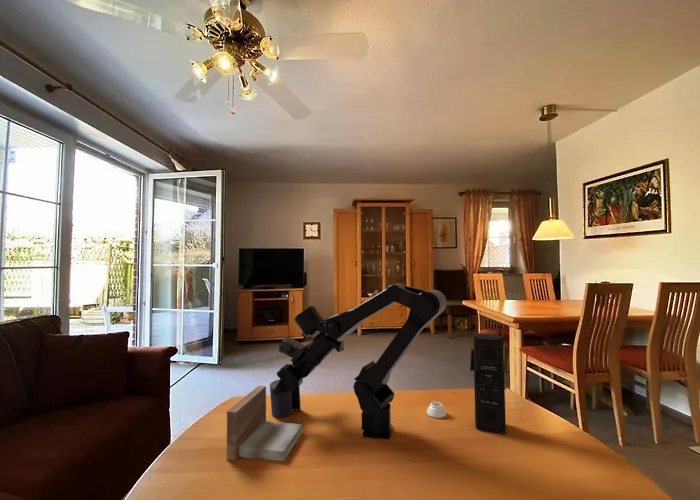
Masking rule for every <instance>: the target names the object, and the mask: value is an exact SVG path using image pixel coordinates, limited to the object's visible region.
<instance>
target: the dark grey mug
mask: <svg viewBox="0 0 700 500" xmlns="http://www.w3.org/2000/svg"><path fill="white" fill-rule="evenodd" d="M279 381H280V378H279V379H276V380H272V382H270V384H269V392H270V406H271V409H270V410H271V415H272V417H275V418H277V419H280V418H281V419H282V418H285V417H289V416H290V415H291V414H292V413H293V411H294V410H295V411H301V410H302V409H301V408H302V407H301V394H300V393H301V392H300V386H299V387H298V388H297V389H296V390H295V391H294V392H292V391H287V392H284V393H281V394H278V395H274V394H273V393H272V392H273V391H274V389H275V387H276V386H277V384H278V382H279Z"/></svg>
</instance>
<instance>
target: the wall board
mask: <svg viewBox="0 0 700 500" xmlns="http://www.w3.org/2000/svg"><path fill="white" fill-rule="evenodd" d="M302 433H303V424H302V423H290V422H279V421H278V422H277V421H267V386H266V385H258V386H257V387H255V388H254V389H253V390H251V392H249V393H248V394H247V395H245V396H244V397H243V398H241V400H239V401H238V402H237V403H235V404H234V405H233V406H232V407H231V408H229V409H228V410H227V411H226V461H232V462H233V461H235V462H236V461H237V460H238V459H239V458H249V459H257V460H268V461H274V462H275V461H278V462H285V461H286V459H287V457H288V456H289V454H290V452H291V451H292V449H293V447H294V446H295V445H296V443H297V441H298V440H299V438H300V437H301V435H302Z"/></svg>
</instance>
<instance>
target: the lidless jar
mask: <svg viewBox="0 0 700 500" xmlns="http://www.w3.org/2000/svg"><path fill="white" fill-rule="evenodd" d="M426 414H427V415H428V416H430V417H431V418H434V419H441V418H444V417H445V418H446V416H447V411H446V410H445V408H444V406H443V403H441V402H439V401H431V402H430V405H429V406H428V407H427V410H426Z"/></svg>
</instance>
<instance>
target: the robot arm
mask: <svg viewBox="0 0 700 500" xmlns="http://www.w3.org/2000/svg"><path fill="white" fill-rule="evenodd" d="M395 303H398V304H400V305H401V306H404V307H406V308H408V309H409V311H408V312H409V313H408V315H407V319H406V321H405V322H404V324H403V325H402V327H401V328H400V329H399V330H398V332H397V334H396V335H395V336H394V337H393V339H392V340H391V341H390V343H389V344H388V346H387V347H386V348H385V350H384V351H383V353H382V354H381V355H380V357H379V358H378V360H377V361H376V362H375V361H374V360H372V361H371V362H369V363H367V364H366V365H364V366H362V368H361V369H360V372H359V374H358V375H357V376H355V377H354V378H353V380H355V381H354V383H353V387H352V388H353V392H354V395H355V397H356V398H357V401H358V404H359V408H360V410H361V414H360V415H361V430H362V437H367V438H376V439H390V438H391V436H392V435H391V433H392V425H393V424H392V422H391V403H392V402H393V401H394V397H395V392H394V391H393V390H392V388H390V386H389V385H388V383H389V380H390V377H391V374H392V371H393V370H394V368H395V367H396V365H397V364H398V362H400V360H401V359H402V358H403V356H404V354H405V353H406V352H407V351H408V349H410V347H411V345H412V344H413V343H414V341H415V340H416V339H417V338H418V336H419V335H420V333H421V332H422V331H423V329H424V328H425V327H427V326H428V325H429V324H430V323H432V322H433V321H434V320H435V319H436V318H437V317H439V315H441V314H442V313H443V312H444V311H445V310H446V308H447V305H448V304H447V298H446V296H445V294H444V293H443V292H441V291H440V290H437V289H429V290H425V289H421V288H417V287H411V286H407V285H404V284H402V283H393V284H389V286H388V287H387V288H386V289H385V288H384V290H382V291H380V292H379V293H376V295H373V296H372V297H371V298H369V299H367V300H366V301H364V302H362V303H360V304H358V305H357V306H355V307H354V308H352V309H350V310H347V311H344V312H341V313H338V314H335V315H333V316H330V317H328V318H325V319H324V318H323V317H322V316H321V315H320V313H319V312H318V310H317V308H316V307H315V306H314V305H309V306H308V307H306V309H304V310H302V311H301V312H300V313H299V314H297V315H296V316H295V317H294V322H295V324H296V325H297V326H298V328H299V329H300V331H301V332H302V333H303V334H304V336H305V337H306V338H309V337H310V338H313V339H312V340H311V341H310V342H309V343H307V344H306V345H304V344H302V343H301V342H299V341H298V340H296V339H294V338H293V337H290V336H287V337H285V338H283V339H282V341H281V343H279V344H278V347H279V348H278V349H277V350H278V352H279V353H281V354H284V355H286V356H288V357H290V358H291V359H290V361H291V362H292V363H291V364H290V363H286V364H285V365H284V366H282V367H281V368H280V369H279V371H277V372H276V376H277V378H279V379H280V381H279V382H278V384H277V386H276V387H275V389H274V391H273V392H272V393H273V394H274V395H278V394H281V393H284V392H287V391H292V392H294V391H295V390H296V389H297V388H298V387H299V388H300V386H301V385H302V384H303V383H304V379H305V378H307V377H308V376H309V375H310V374H311V373H313V371H314V370H315V369H316V368H317V367H318V366H319V365H320V364H321V363H322V362H323V361H324V360H325V359H326V358H327V357H328V356H329V355H330V354H331V353H332V352H333V351H334V350H335V351H336V352H338V353H341V352H344V350H345V347H344V345H345V341H344V340H340V338H344V337H345V336H349V335H350V334H352V333H353V332H354V331H356V330H357V329H358V328H359V327H360V326H361V324H362V323H363V322H364V321H365V320H368V319H369V318H371V317H373V316H374V315H376V314H377V313H380V312H381V311H383V310H385V309H386V308H389V307H390V306H392V305H394V304H395Z"/></svg>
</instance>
